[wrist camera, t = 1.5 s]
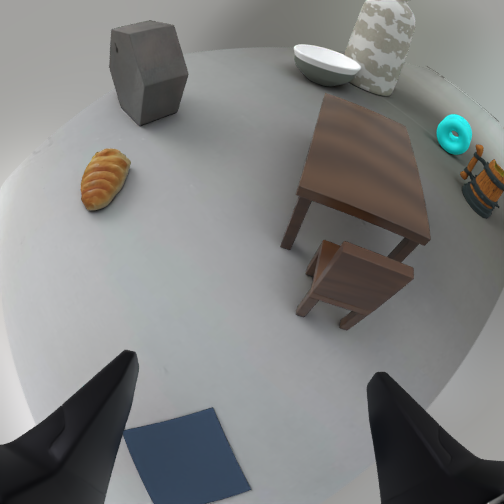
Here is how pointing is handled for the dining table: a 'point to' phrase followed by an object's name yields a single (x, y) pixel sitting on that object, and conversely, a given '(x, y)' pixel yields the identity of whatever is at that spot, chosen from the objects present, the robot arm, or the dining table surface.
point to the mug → (483, 185)
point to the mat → (186, 460)
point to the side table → (363, 174)
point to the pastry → (104, 178)
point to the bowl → (325, 65)
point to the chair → (353, 280)
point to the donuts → (448, 139)
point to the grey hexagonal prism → (147, 70)
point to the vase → (381, 44)
